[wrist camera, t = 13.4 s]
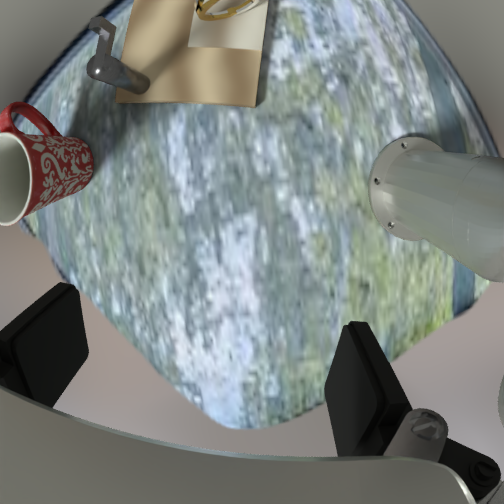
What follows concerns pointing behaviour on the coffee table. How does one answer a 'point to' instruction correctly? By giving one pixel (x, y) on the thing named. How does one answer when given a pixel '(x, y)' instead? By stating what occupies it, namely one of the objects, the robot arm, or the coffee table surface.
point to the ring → (230, 12)
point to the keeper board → (194, 53)
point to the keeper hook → (113, 62)
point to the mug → (38, 165)
